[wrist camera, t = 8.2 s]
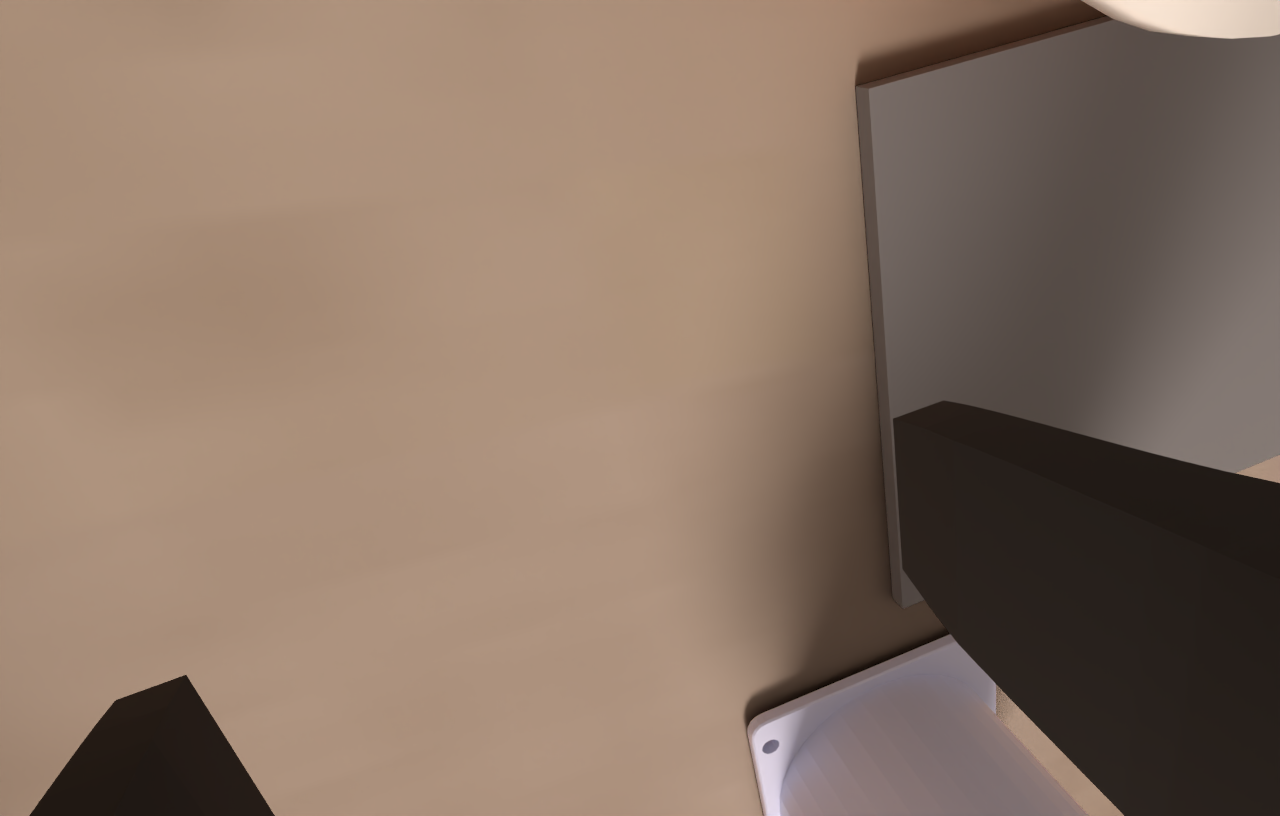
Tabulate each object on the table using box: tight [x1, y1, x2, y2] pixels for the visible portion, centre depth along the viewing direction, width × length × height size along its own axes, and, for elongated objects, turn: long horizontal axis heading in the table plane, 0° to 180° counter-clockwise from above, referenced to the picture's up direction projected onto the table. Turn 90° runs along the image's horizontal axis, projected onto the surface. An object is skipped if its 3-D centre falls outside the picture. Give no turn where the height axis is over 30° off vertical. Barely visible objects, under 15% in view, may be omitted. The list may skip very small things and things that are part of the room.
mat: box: [856, 16, 1280, 609], centre depth 22 cm, size 14×14×1 cm
